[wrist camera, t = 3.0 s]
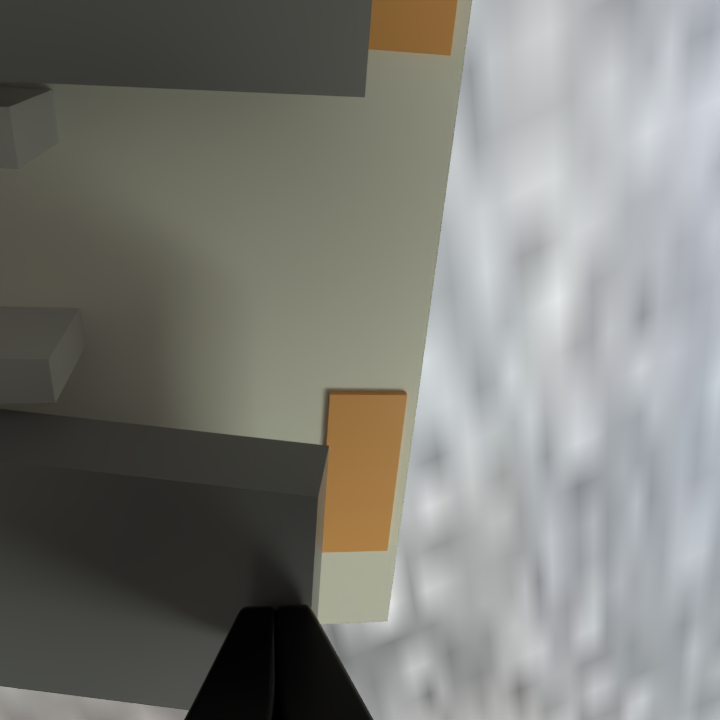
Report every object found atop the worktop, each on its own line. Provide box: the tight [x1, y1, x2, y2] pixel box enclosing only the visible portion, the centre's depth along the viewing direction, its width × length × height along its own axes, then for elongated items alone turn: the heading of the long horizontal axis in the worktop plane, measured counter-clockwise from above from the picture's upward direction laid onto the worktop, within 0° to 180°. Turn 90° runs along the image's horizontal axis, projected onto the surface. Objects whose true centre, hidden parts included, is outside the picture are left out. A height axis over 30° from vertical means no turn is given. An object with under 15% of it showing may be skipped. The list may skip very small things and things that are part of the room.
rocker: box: [0, 409, 329, 710], centre depth 9 cm, size 8×4×1 cm, turn 86°
